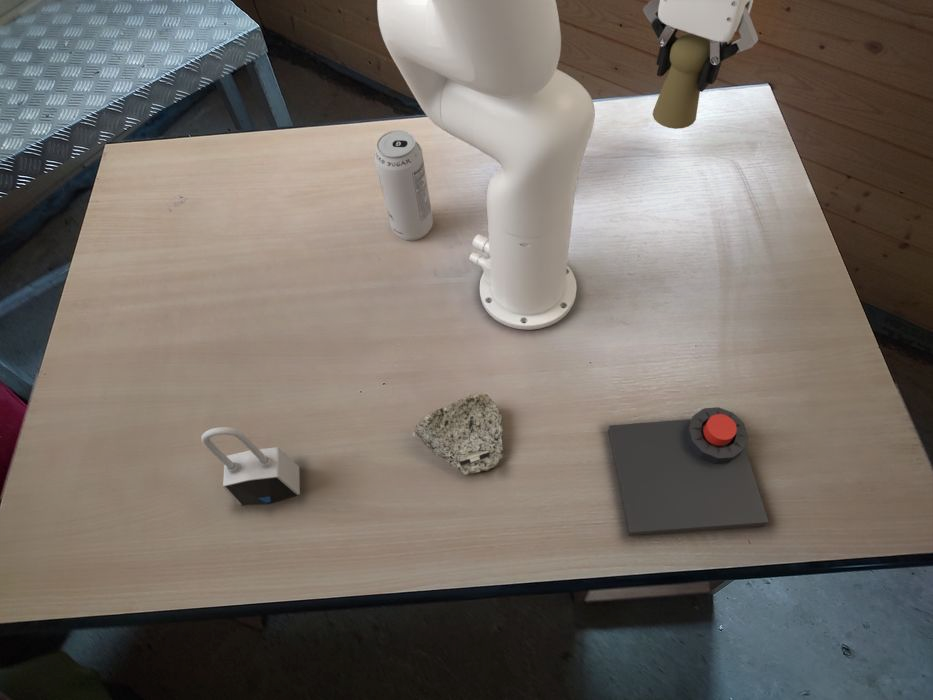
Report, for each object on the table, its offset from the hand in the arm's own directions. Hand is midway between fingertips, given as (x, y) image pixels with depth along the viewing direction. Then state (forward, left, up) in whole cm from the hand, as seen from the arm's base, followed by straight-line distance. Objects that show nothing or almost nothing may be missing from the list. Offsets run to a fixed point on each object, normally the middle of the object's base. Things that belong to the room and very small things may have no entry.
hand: (684, 77), depth 83 cm
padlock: (-10, -72, -13) cm, 74 cm away
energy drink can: (-22, -33, -13) cm, 42 cm away
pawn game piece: (0, 0, -6) cm, 6 cm away
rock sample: (+5, -54, -13) cm, 56 cm away
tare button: (+27, -39, -10) cm, 48 cm away
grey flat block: (+26, -44, -13) cm, 53 cm away
